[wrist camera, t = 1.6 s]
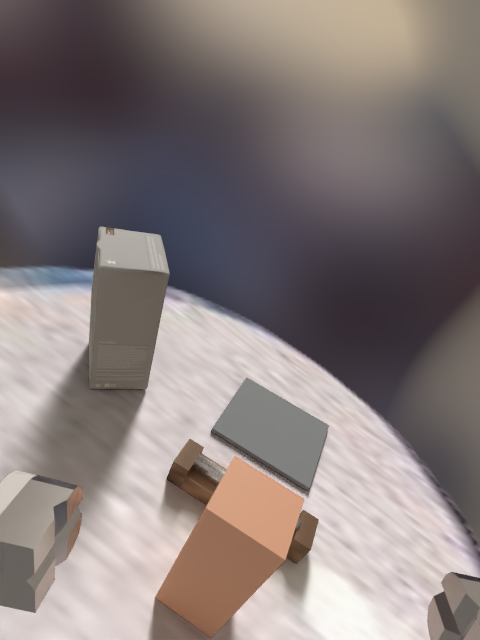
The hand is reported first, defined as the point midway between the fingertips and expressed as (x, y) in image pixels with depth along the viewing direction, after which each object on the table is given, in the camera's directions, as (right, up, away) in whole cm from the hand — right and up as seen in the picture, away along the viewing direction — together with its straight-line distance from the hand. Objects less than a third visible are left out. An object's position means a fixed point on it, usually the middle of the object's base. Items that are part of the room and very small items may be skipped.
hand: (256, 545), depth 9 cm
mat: (+3, -8, +37) cm, 38 cm away
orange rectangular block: (-4, -16, +22) cm, 28 cm away
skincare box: (-15, 0, +37) cm, 40 cm away
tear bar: (-1, -13, +28) cm, 31 cm away
